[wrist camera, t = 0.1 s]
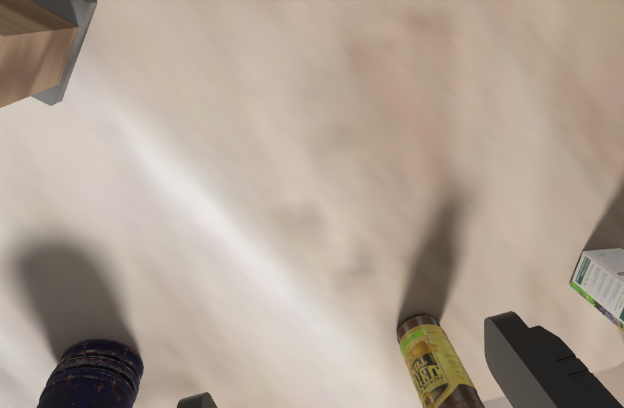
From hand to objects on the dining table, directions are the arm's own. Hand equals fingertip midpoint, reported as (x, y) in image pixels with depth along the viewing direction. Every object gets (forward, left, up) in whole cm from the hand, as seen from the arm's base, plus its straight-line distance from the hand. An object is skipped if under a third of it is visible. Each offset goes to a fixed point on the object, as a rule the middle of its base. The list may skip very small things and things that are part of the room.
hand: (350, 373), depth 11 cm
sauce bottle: (+33, +10, -30) cm, 45 cm away
